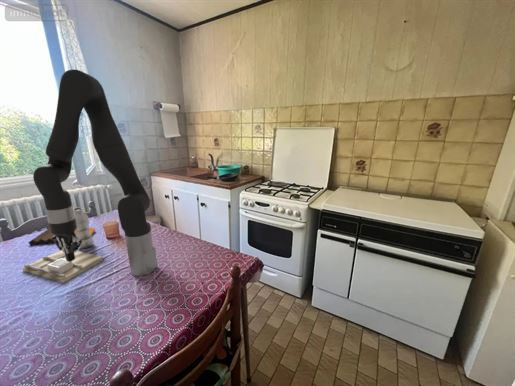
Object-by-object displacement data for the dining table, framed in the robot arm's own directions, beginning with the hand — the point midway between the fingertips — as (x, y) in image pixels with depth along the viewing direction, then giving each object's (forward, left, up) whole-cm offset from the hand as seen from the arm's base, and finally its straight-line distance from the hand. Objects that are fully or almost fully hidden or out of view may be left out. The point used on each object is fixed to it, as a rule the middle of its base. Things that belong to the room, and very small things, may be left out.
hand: (71, 260), depth 85 cm
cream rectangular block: (+7, 0, -6) cm, 9 cm away
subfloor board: (+12, -4, -7) cm, 15 cm away
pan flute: (+41, -27, -8) cm, 50 cm away
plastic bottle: (+18, -18, -8) cm, 27 cm away
